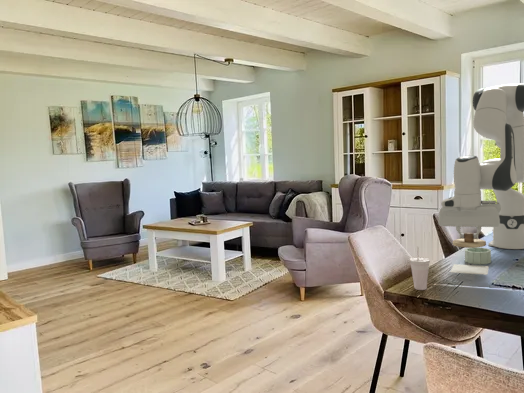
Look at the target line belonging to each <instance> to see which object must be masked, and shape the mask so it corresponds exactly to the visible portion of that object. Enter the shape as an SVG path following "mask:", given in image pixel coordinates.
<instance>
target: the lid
mask: <svg viewBox="0 0 524 393" xmlns="http://www.w3.org/2000/svg"><path fill="white" fill-rule="evenodd" d="M463 233H464V239H460V238H458V239H453V241H452V245H453V246H455V247H458V248H465V249H467V248H484V247H485V246H486V245H487V241H486V240H484V239H480V238H478V239H474V236H473V234H474V233H475V232H463Z"/></svg>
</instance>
